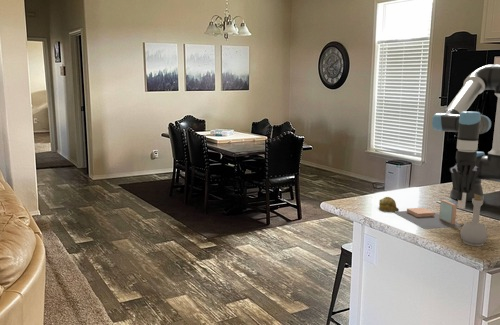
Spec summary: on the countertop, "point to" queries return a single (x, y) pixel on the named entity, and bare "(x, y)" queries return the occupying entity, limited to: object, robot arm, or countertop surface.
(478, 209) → the potion bottle
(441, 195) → the countertop surface
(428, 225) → the mat
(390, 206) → the seashell
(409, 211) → the tile
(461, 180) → the robot arm
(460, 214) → the countertop surface
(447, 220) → the tile
